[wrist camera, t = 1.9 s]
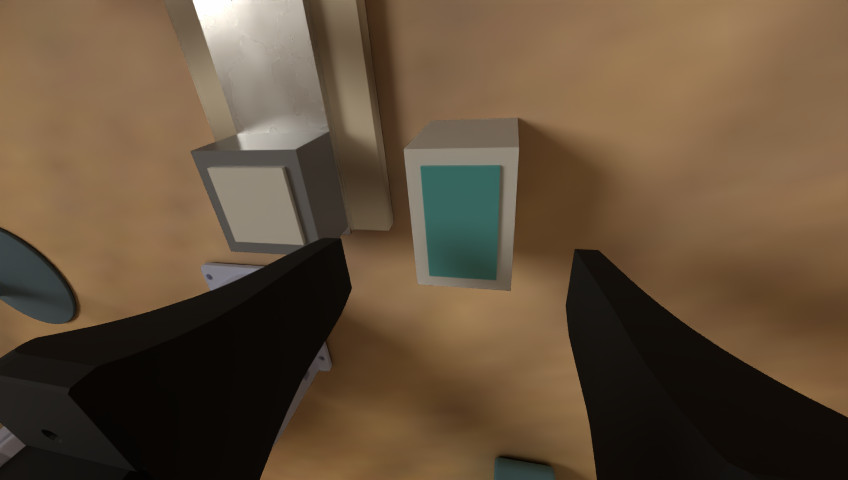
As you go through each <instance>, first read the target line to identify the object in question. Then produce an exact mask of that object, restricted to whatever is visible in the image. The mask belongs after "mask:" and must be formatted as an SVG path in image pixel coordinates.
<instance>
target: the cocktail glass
mask: <svg viewBox="0 0 848 480" xmlns="http://www.w3.org/2000/svg"><path fill="white" fill-rule="evenodd" d="M0 299H1V300H3V301H4V302H6V303H7V304H8V305H10V306H11V307H13V308H15V309H16V310H18V311H20V312H22V313H23V314H25V315H27V316H30V317H32V318H34V319H37V320H39V321H43V322H46V323H52V324H62V323H65V322H68V321H69V320H71V319H72V318H73V316H74V315H75V311H76V303H75V300H74V296H73V294H72V292H71V290H70V288H69V286H68V285H67V283H66V282H65V280H64V279H63V278H62V276H61V275H60V274H59V273H58V271H57V270H56V269H55V268H54V267H53V266H52V265H51V264H50V263H49V262H48V261H47V260H46V259H45V258H44V257H43V256H42V255H41V254H40V253H38V252H37V251H36V250H35V249H34V248H32V247H31V246H29V245H28V244H27V243H25V242H24V241H22V240H21V239H19V238H18V237H16V236H15V235H13V234H11V233H9V232H7V231H5V230H3V229H1V228H0Z"/></svg>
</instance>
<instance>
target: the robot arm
mask: <svg viewBox="0 0 848 480" xmlns="http://www.w3.org/2000/svg"><path fill="white" fill-rule="evenodd" d="M201 271H202V273H203V275H204V277H205V280H206V282H207V284H208V286H209V288H210V290H211V291H209V292H206V293H204V294H201V295H199V296H196V297H193V298H190V299H187V300H184V301H181V302H178V303H175V304H172V305H169V306H166V307H163V308H160V309H157V310H153V311H150V312H147V313H143V314H139V315H136V316H132V317H129V318H125V319H121V320H117V321H113V322H109V323H105V324H101V325H96V326H92V327H87V328H82V329H77V330H73V331H68V332H63V333H58V334H53V335H48V336H43V337H37V338H34V339H32V340H30V341H28V342H26V343H24V344H21V345H20V346H18V347H17V348H15V349H14V350H12V351H10V352H9V353H7V354H6V355H4V356H3V357H1V358H0V423H1V424H2V425H4V427H3V428H1V429H0V480H260V477H261V475H262V472H263V470H264V467H265V465H266V462H267V460H268V457H269V454H270V452H271V449H272V447H273V446H274V445H275V444H276V442H277V441H278V440H279V438H280V437H281V435H282V433H283V432H284V430H285V428H286V426H287V425H288V423H289V421H290V419H291V418H292V416H293V414H294V412H295V411H296V409H297V407H298V405H299V404H300V402H301V400H302V399H303V397H304V395H305V393H306V392H307V390H308V388H309V386H310V385H311V383H312V381H313V379H314V378H315V376H316V374H317V373H318V371H330V369H331V367H332V362H331V359H330V356H329V352H328V349H327V346H326V342H325V341H326V339H327V338H328V336H329V334H330V333H331V331H332V329H333V327H334V326H335V324H336V322H337V321H338V319H339V317H340V315H341V314H342V311H343V309H344V307H345V304H346V302H347V300H348V297H349V294H350V292H351V289H352V286H351V282H350V277H349V273H348V268H347V264H346V259H345V255H344V250H343V246H342V241H341V238H322V239H319V240H317V241H314V242H312V243H310V244H308V245H306V246H304V247H302V248H300V249H298V250H296V251H294V252H292V253H290V254H288V255H286V256H284V257H282V258H280V259H279V260H277V261H275V262H273V263H271V264H269V265H267V266H252V265H237V264H222V263H205V264H203V265H202V266H201ZM566 313H567V323H568V332H569V338H570V343H571V347H572V351H573V355H574V360H575V364H576V368H577V372H578V376H579V380H580V384H581V388H582V392H583V396H584V401H585V405H586V409H587V414H588V419H589V424H590V430H591V438H592V445H593V452H594V460H595V467H596V476H597V480H848V417H846V416H844V415H842V414H840V413H838V412H836V411H834V410H832V409H830V408H828V407H826V406H824V405H822V404H820V403H818V402H816V401H814V400H812V399H810V398H808V397H806V396H804V395H802V394H800V393H799V392H797V391H795V390H793V389H791V388H789V387H787V386H785V385H784V384H782V383H780V382H778V381H776V380H774V379H773V378H771V377H769V376H767V375H766V374H764V373H762V372H760V371H759V370H757V369H755V368H753V367H752V366H750V365H748V364H747V363H745V362H743V361H741V360H740V359H738V358H736V357H735V356H733V355H731V354H730V353H728V352H727V351H725V350H723V349H722V348H720V347H719V346H717V345H716V344H714V343H713V342H711V341H710V340H708V339H707V338H705V337H704V336H702V335H701V334H699V333H698V332H696V331H695V330H693V329H692V328H690V327H689V326H687V325H686V324H685V323H683V322H682V321H680V320H679V319H678V318H676V317H675V316H674V315H673V314H671V313H670V312H669V311H667V310H666V309H665V308H664V307H662V306H661V305H660V304H658V303H657V302H656V301H655V300H654V299H652V298H651V297H650V296H649V295H647V294H646V293H645V292H644V291H643V290H642V289H640V288H639V287H638V286H637V285H636V284H635V283H634V282H632V281H631V280H630V279H629V278H628V277H627V276H626V275H625V274H624V273H623V272H621V271H620V270H619V269H618V268H617V267H616V266H615V265H614V264H613V263H612V262H611V261H610V260H609V259H608V258H606V257H605V256H604V255H603V254H602V253H601V252H600V251H599V250H583V249H575V251H574V257H573V263H572V270H571V276H570V282H569V288H568V295H567V301H566Z"/></svg>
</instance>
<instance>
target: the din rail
mask: <svg viewBox="0 0 848 480" xmlns="http://www.w3.org/2000/svg"><path fill="white" fill-rule="evenodd" d="M193 3H194V6H195V9H196V12H197V15H198V18H199V21H200V24H201V27H202V30H203V33H204V36H205V39H206V42H207V45H208V48H209V51H210V54H211V57H212V60H213V63H214V66H215V69H216V72H217V75H218V78H219V81H220V84H221V87H222V90H223V93H224V96H225V99H226V102H227V105H228V108H229V111H230V114H231V117H232V120H233V123H234V126H235V129H236V132H237V134H255V133H289V132H322V131H329V133H330V138H331V143H332V148H333V153H334V158H335V163H336V168H337V172H338V177H339V182H340V187H341V192H342V197H343V202H344V207H345V212H346V217H347V221H348V226H349V227H348V228H347V229H346V230H345V231H344V232H343V234H346V235H350V234H351V233H352V232H353V231H354V225H353V220H352V215H351V209H350V204H349V199H348V194H347V189H346V184H345V179H344V174H343V169H342V164H341V158H340V153H339V148H338V143H337V138H336V133H335V128H334V123H333V118H332V113H331V107H330V102H329V97H328V92H327V87H326V82H325V77H324V72H323V67H322V62H321V56H320V51H319V46H318V41H317V36H316V31H315V26H314V21H313V16H312V11H311V5H310V0H193Z"/></svg>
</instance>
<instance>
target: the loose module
mask: <svg viewBox="0 0 848 480" xmlns="http://www.w3.org/2000/svg"><path fill="white" fill-rule="evenodd" d="M518 157H519V137H518V118H490V119H461V120H432V121H430V122H429V123H428V124H427V125H426V126H425V127H424V128H423V129H422V130H421V131H420V132H419V133H418V135H417V136H416V137H415V138H414V139H413V140H412V141H411V142H410V143H409V144H408V145H407V146H406V147H405V148H404V158H405V168H406V177H407V187H408V196H409V206H410V215H411V225H412V235H413V244H414V254H415V263H416V273H417V283H418V284H422V285H436V286H450V287H464V288H478V289H492V290H506V291H511V278H512V261H513V243H514V226H515V209H516V192H517V174H518Z"/></svg>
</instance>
